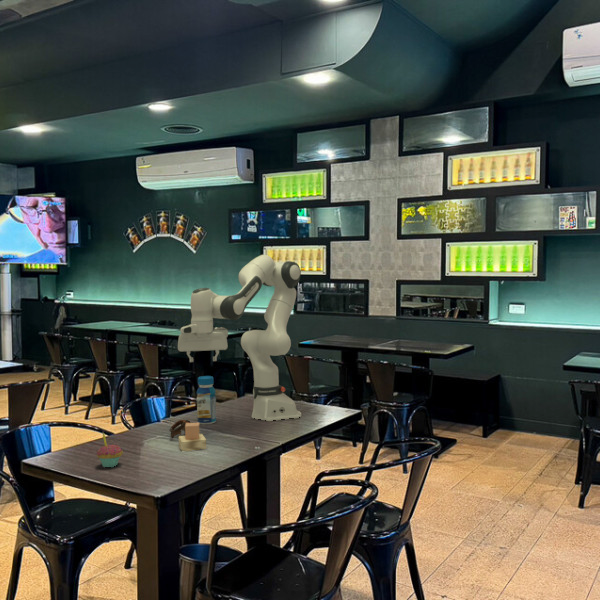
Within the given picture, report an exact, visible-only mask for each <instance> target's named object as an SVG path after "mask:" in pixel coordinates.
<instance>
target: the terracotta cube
mask: <svg viewBox="0 0 600 600" xmlns="http://www.w3.org/2000/svg"><path fill="white" fill-rule="evenodd" d="M200 432H201V430H200V424H199V423H198V422H190V423H186V425H185V431H184V434H185V435H184V436H185V438H186V440H189V439H199V437H200V434H201V433H200Z"/></svg>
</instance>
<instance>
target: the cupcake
mask: <svg viewBox="0 0 600 600" xmlns="http://www.w3.org/2000/svg"><path fill="white" fill-rule="evenodd" d="M102 438H103V442H104V445H103V446H100V447H99V449H97V451H96V456H97V458H98V459H99V460H100V462H101V465H102V467H103V466H104V467H103V468H105V467H111V468H114V466H115V467H117V466H118V462H119V459H120V458H121V456H122V455H124V451H123V448H122V447H121V446H119V445H117V444H113V443H112V444H108V443H107V439H106V434H105V433H104V432H102ZM116 465H117V466H116Z"/></svg>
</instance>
